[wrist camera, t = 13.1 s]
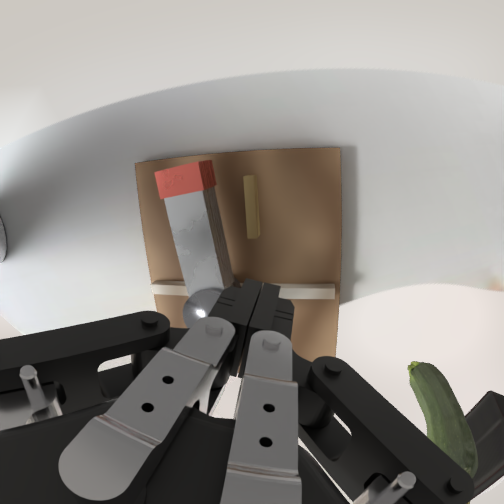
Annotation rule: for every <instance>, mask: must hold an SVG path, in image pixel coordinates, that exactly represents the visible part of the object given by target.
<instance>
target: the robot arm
mask: <svg viewBox="0 0 504 504" xmlns="http://www.w3.org/2000/svg"><path fill="white" fill-rule="evenodd" d="M6 248H7V244H6V235H5V230H4V226H3V223H2V221H1V218H0V263H1V262H2V261H3V260H4V258H5V255H6ZM262 284H263V282H261V281H257V280H252V279H248V278H246V279H245V281H244V283H243V285H242V287H241V288H237V287H233V286H230V287H228V288H226V289H224V290H223V291H222V293H221V294H220V296H219V298H218V300H217V301H216V303H215V305H214V306H213V308H212V310H211V311H210V313H209V315H208V316H207V317H203V318H200V319H198V320H197V321H196V322H195V323H194V324H193V326H192V327H191V328H174V327H170V321H169V319H168V318H167V317H166V316H165V315H163V314H161V313H159V312H155V311H141V312H137V313H132V314H127V315H123V316H118V317H114V318H109V319H104V320H99V321H94V322H90V323H85V324H80V325H75V326H70V327H65V328H60V329H55V330H49V331H44V332H39V333H34V334H28V335H23V336H18V337H12V338H7V339H1V340H0V504H350V503H349V502H348V501H347V500H346V498H345V497H344V496H343V495H342V493H341V492H340V491H339V490H338V488H337V487H336V486H335V485H334V483H333V482H332V481H331V479H330V478H329V477H328V476H327V474H326V473H325V472H324V470H323V469H322V468H321V467H320V465H319V464H318V463H317V461H316V460H315V459H314V458H313V457H312V456H311V455H310V454H309V453H308V452H307V451H306V450H305V449H304V448H302V447H301V446H299V445H298V437H299V438H300V439H301V441H302V442H303V443H304V444H305V446H306V447H307V448H308V449H309V451H310V452H311V453H312V454H313V455H314V457H315V458H316V459H317V460H318V462H319V463H320V464H321V465H322V466H323V468H324V469H325V470H326V471H327V472H328V474H329V475H330V476H331V477H332V478H333V480H334V481H335V482H336V483H337V484H338V485H339V487H340V488H341V489H342V490H343V491H344V492H345V493H346V494H347V496H348V497H349V498H350V499H351V500H352V501H353V504H467V503H468V502H469V501H470V500H471V499H472V497H473V495H474V491H475V486H474V482H473V480H472V478H471V476H470V475H469V474H468V473H467V472H466V471H465V470H464V469H463V468H461V467H460V466H459V465H458V464H457V463H456V462H455V461H454V460H452V459H451V458H450V457H449V456H448V455H447V454H446V453H445V452H444V451H442V450H441V449H440V448H439V447H438V446H437V445H436V444H435V443H433V442H432V441H431V440H430V439H429V438H428V437H427V436H426V435H425V434H423V433H422V432H421V431H420V430H419V429H418V428H417V427H416V426H415V425H414V424H412V423H411V422H410V421H409V420H408V419H407V418H406V417H405V416H404V415H402V414H401V413H400V412H399V411H398V410H397V409H396V408H395V407H394V406H393V405H392V404H390V403H389V402H388V401H387V400H386V399H385V398H384V397H383V396H382V395H381V394H380V393H379V392H377V391H376V390H375V389H374V388H373V387H372V386H371V385H370V384H369V383H368V382H366V380H364V379H363V378H362V377H361V376H360V375H359V374H358V373H357V372H356V371H355V370H354V369H353V368H351V367H350V366H349V365H348V364H347V363H346V362H344V361H343V360H341V359H339V358H336V357H332V356H321V357H318V358H316V359H315V360H314V361H313V362H311V361H308V360H306V359H304V358H302V357H300V356H299V355H298V354H296V353H295V352H294V350H293V349H292V343H291V334H292V326H293V318H294V310H295V307H294V305H293V303H292V302H291V300H288V299H284V298H279V292H280V288H281V286H278V285H274V284H270V283H265V282H264V284H263V287H262ZM261 289H262V290H261ZM127 355H131V363H130V364H126V365H122V366H119V367H115V368H111V369H108V370H104V371H100V372H98V367H99V366H100V364H102V363H103V362H105V361H108V360H112V359H116V358H119V357H123V356H127ZM240 364H241V365H240ZM239 367H240V370H239ZM238 370H239V375H238V377H239V378H242V381H241V385H240V389H239V393H238V398H237V404H236V408H235V413H234V418H233V419H224V418H214V417H211V415H212V413H213V411H214V410H215V408H216V406H217V404H218V402H219V400H220V398H221V396H222V394H223V392H224V389H225V384H226V383H227V381H228V379H229V376H230V375H231V376H235V377H236V376H237V373H238ZM334 413H335V414H336V415H337V416H338V417H339V418H340V419H341V420H342V421H343V422H344V423H345V424H346V425H347V426H348V428H349V429H350V431H351V435H352V436H351V435H350V434H349V433H348V431H347V430H346V429H345V428H344V427H343V426H342V425H341V424H340V423H339V422H338V421H337V420H336V419H335V417H334V416H333V415H334Z"/></svg>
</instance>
